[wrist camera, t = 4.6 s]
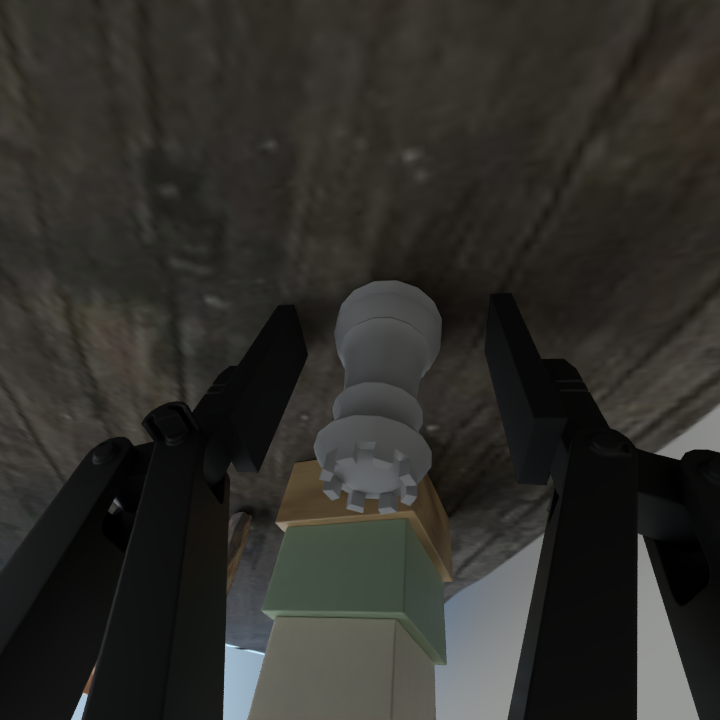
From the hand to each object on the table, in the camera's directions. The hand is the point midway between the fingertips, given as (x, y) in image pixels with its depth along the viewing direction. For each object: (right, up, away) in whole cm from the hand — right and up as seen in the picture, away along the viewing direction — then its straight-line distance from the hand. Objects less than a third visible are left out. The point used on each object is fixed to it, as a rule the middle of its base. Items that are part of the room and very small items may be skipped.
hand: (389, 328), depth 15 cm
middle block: (-1, -13, +5) cm, 14 cm away
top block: (-1, -15, +2) cm, 15 cm away
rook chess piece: (0, 0, 0) cm, 0 cm away
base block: (0, -10, +8) cm, 13 cm away
